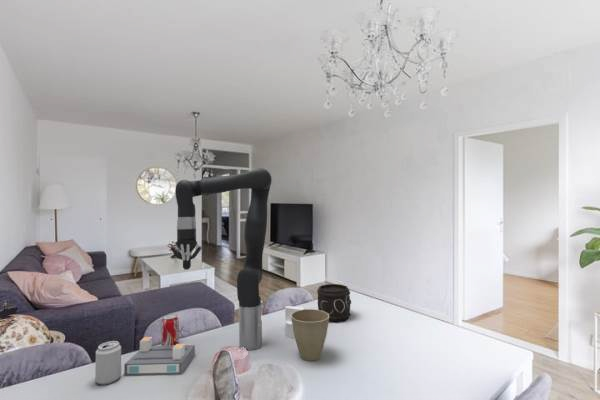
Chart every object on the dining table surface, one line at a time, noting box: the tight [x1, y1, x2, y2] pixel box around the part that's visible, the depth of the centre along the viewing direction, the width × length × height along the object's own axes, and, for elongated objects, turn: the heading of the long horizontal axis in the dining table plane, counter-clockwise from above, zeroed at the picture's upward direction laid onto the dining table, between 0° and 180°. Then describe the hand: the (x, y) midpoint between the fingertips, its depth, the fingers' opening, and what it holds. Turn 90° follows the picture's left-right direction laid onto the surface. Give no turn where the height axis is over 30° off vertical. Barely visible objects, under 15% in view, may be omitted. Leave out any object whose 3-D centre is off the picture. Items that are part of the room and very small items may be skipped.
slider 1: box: [139, 336, 153, 352], centre depth 118 cm, size 3×4×4 cm
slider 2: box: [173, 343, 186, 360], centre depth 111 cm, size 3×4×4 cm
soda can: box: [160, 313, 180, 346], centre depth 132 cm, size 7×7×12 cm
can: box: [95, 340, 122, 386], centre depth 105 cm, size 8×8×12 cm
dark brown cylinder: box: [316, 283, 352, 324], centre depth 162 cm, size 18×18×16 cm
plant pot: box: [291, 308, 330, 362], centre depth 119 cm, size 15×15×16 cm
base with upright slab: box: [284, 305, 306, 339], centre depth 141 cm, size 9×9×12 cm
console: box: [123, 344, 196, 376], centre depth 114 cm, size 20×14×4 cm
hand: (186, 269), depth 128 cm, fingers closed
